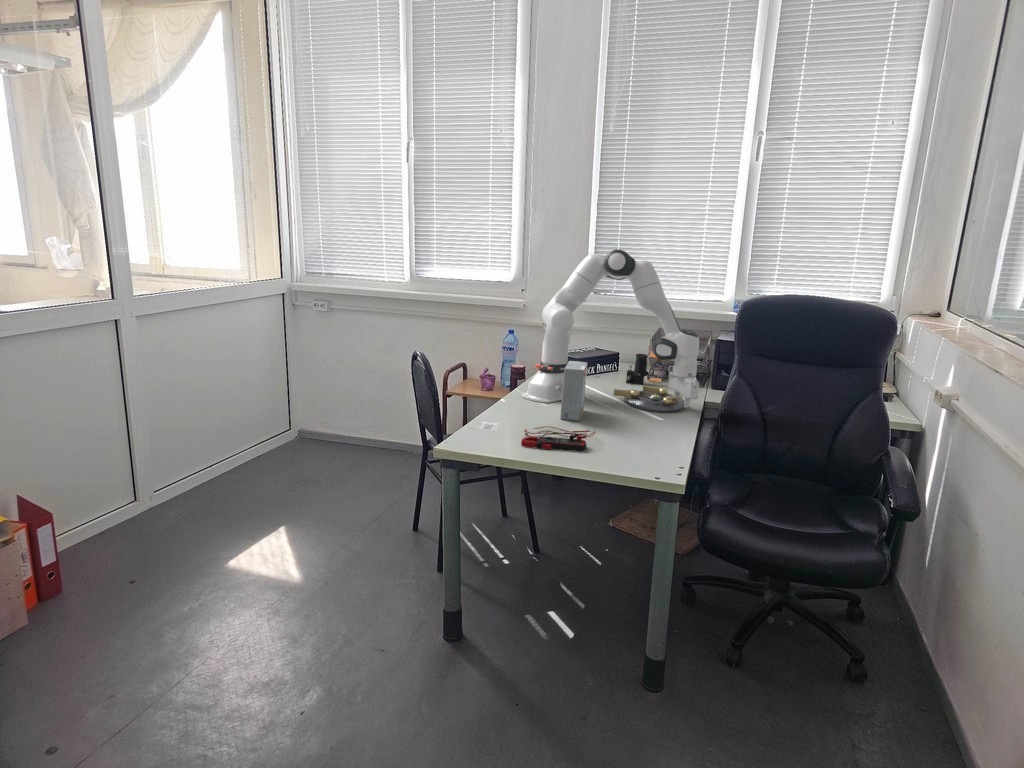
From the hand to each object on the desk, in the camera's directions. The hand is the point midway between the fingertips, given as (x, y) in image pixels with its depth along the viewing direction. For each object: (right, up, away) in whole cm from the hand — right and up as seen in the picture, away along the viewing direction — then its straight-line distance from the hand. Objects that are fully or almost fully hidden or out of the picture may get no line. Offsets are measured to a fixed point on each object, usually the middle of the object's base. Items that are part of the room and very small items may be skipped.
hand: (681, 404), depth 257 cm
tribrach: (-9, 0, +10) cm, 14 cm away
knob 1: (-20, +3, +11) cm, 23 cm away
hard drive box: (-45, -4, -10) cm, 46 cm away
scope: (-10, +8, +43) cm, 45 cm away
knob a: (-7, +4, +18) cm, 19 cm away
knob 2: (-3, 0, +5) cm, 5 cm away
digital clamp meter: (-53, -12, -37) cm, 66 cm away
